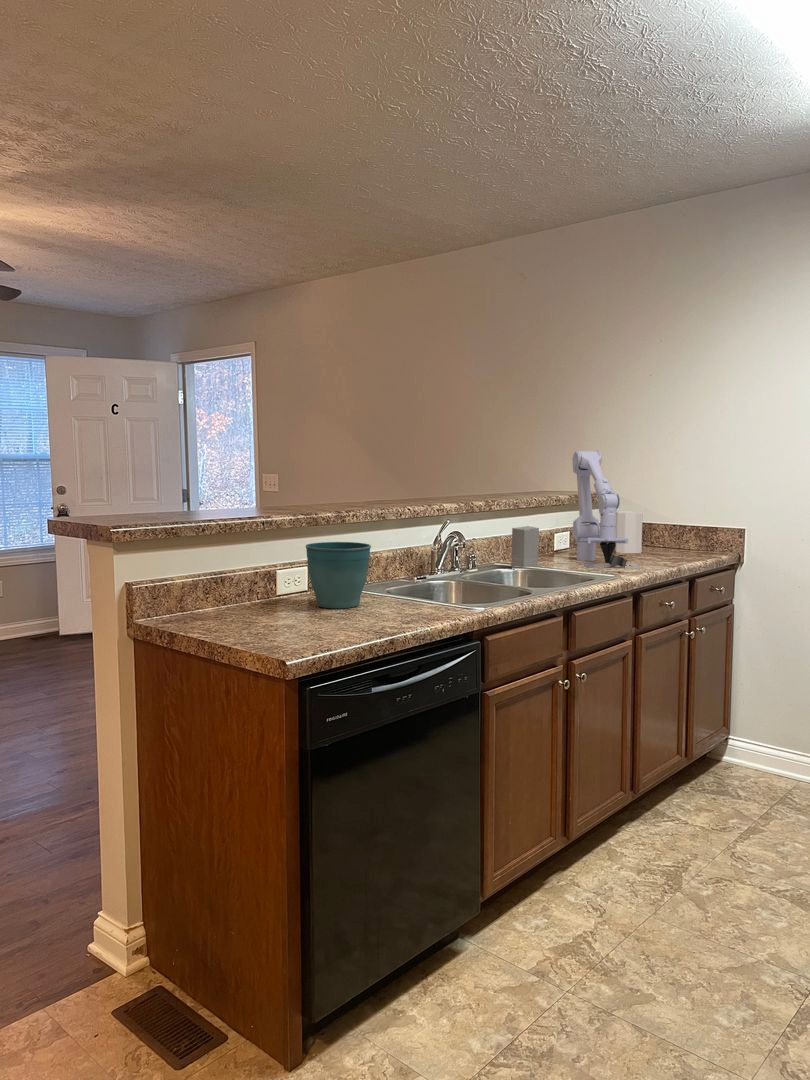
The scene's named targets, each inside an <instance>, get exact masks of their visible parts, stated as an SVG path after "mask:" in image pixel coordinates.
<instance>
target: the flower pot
mask: <svg viewBox="0 0 810 1080" xmlns="http://www.w3.org/2000/svg"><path fill="white" fill-rule="evenodd" d="M305 548H306V558H307V559H306V561H307V571H308V576H309V577H308V578H309V581H310V584H311V587H312V590H313V593H314V596H315V601H316V602H315V604H316V606H318V607H321V608H325V609H349V608H351V607H352V608H355V607H358V606H360V601H361V596H362V593H363V590H364V587H365V584H366V581H367V577H368V573H369V564H370V563H369V561H370V556H371V548H372V545H371V544H370V543H366V542H365V543H364V542H356V541H355V542H354V541H353V542H351V541H327V542H326V541H325V542H324V541H323V542H322V541H321V542H312V543H307V544H306V545H305Z"/></svg>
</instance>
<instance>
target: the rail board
mask: <svg viewBox="0 0 810 1080" xmlns="http://www.w3.org/2000/svg"><path fill="white" fill-rule="evenodd" d="M581 564H582V565H583V566H584V568H586V569H623V570H624V569H627V570H628V569H643V570H644V568H643V567H641V566H640V565H639V564H637V563H626V565H625V566H627V565H629V566H632V567H621V566H614V567H613V566H611V565H610V564H609V563H605V562H604V563H603V562H602V563H601V562H599V563H598V562H596V563H594V562H593V563H592V562H582V563H581Z"/></svg>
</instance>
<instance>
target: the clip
mask: <svg viewBox="0 0 810 1080" xmlns="http://www.w3.org/2000/svg"><path fill="white" fill-rule="evenodd" d="M627 562H628V559H627V558H625V556H619V555H616V554H615V553H614V552H613V553H612V555H611V559H610V563H609V564H610V565H611V566H613V567H614V566H615V567H625V565H626V563H627Z"/></svg>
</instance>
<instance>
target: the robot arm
mask: <svg viewBox="0 0 810 1080" xmlns="http://www.w3.org/2000/svg"><path fill="white" fill-rule="evenodd" d="M571 459H572V460H571V461H572V469H573V470H572V471H573V473H574V474H575V475H576V482H577V483H576V484H577V497H578V499H577V500H578V511H579V516H578V517H577V518H576V519H574V520H573V522H572V533H571V534H572V536H573V539H574V541H576V560H577V561H582V562H592V561H593V562H594V561H596V551H597V549H596V548H597V547H596V546H597V544H599V546H600V548H601V551H602V555H603V557H604V558H603V559H604V563H610V559H611V555H612V553H613V554H614V551H615V549H616V543H625V544H628V538H616V512H618V511H617V509H619V507H620V504H621V503H620V501H621V500H620V499H621V498H620V495H619V493H617V492H616V491H614V490H613V488H612V485H611V483H610V482H609V479H607V478H605V476H604V473H603V469H602V467H601V466H602V462H603V461H602V453H601V451H599V450H575V451H574V453H573V455H572V458H571ZM591 477H592V479H593V480H594V481H593V482H594V483H593V489H594V490H595V492H596V495H597V497H598V499H597V506H598V513H599V515H600V517H599V519H600V522H599V519H598V518H596V517H595V516H594V514H593V502H592V489H591Z"/></svg>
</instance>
